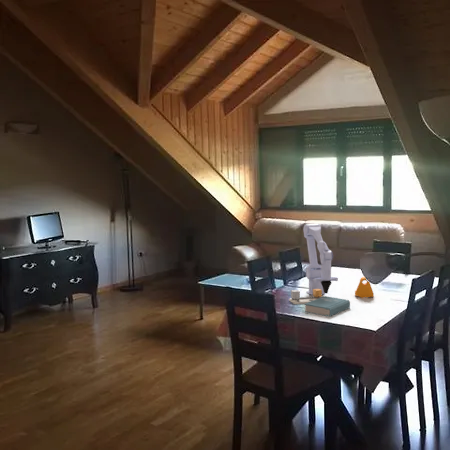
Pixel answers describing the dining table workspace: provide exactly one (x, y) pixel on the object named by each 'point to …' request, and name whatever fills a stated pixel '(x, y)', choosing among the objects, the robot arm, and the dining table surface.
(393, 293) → the dining table surface
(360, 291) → the bracket
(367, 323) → the dining table surface
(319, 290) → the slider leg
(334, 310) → the book
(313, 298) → the pitch plate
